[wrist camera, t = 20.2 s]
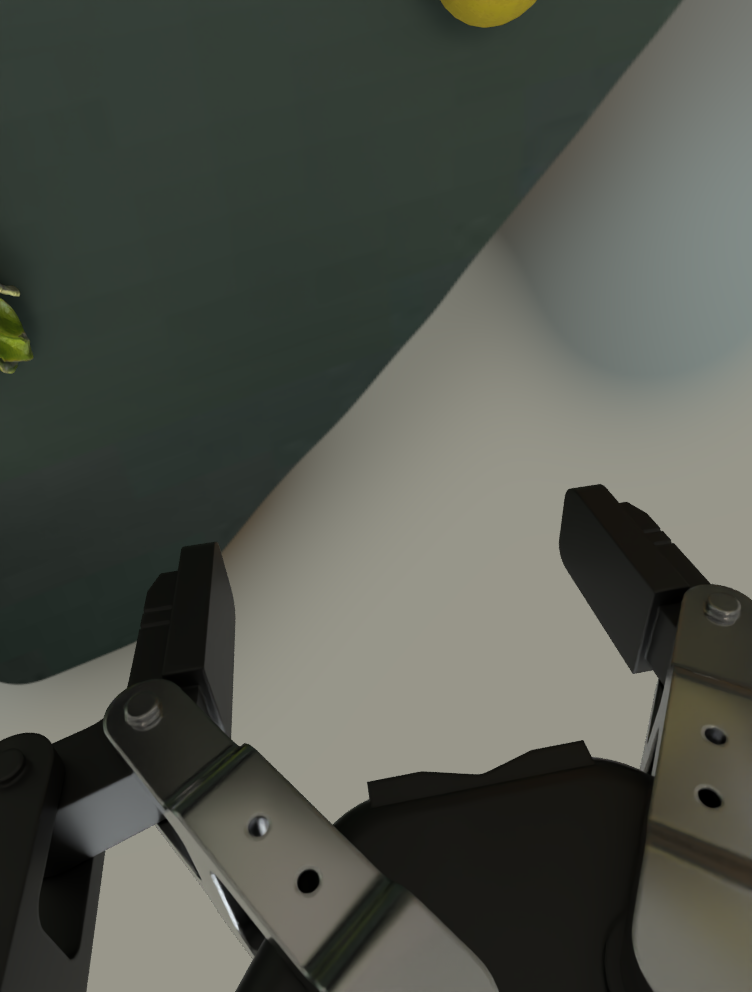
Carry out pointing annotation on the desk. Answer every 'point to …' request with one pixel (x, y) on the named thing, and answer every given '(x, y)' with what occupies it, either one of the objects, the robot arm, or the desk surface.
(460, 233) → the desk surface
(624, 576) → the robot arm
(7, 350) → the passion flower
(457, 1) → the lemon
